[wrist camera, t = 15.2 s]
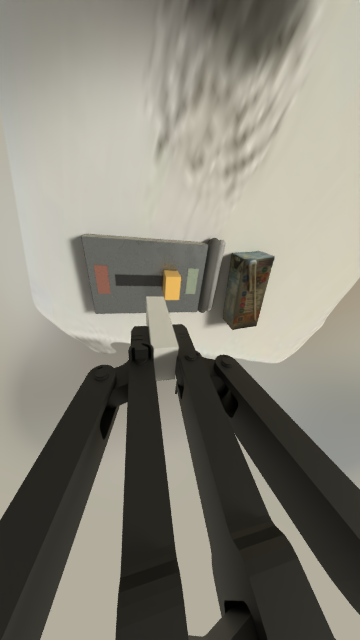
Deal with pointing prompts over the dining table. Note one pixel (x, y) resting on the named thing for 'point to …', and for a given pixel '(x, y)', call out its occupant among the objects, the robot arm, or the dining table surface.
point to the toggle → (171, 285)
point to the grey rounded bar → (211, 274)
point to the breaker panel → (141, 272)
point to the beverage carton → (246, 288)
